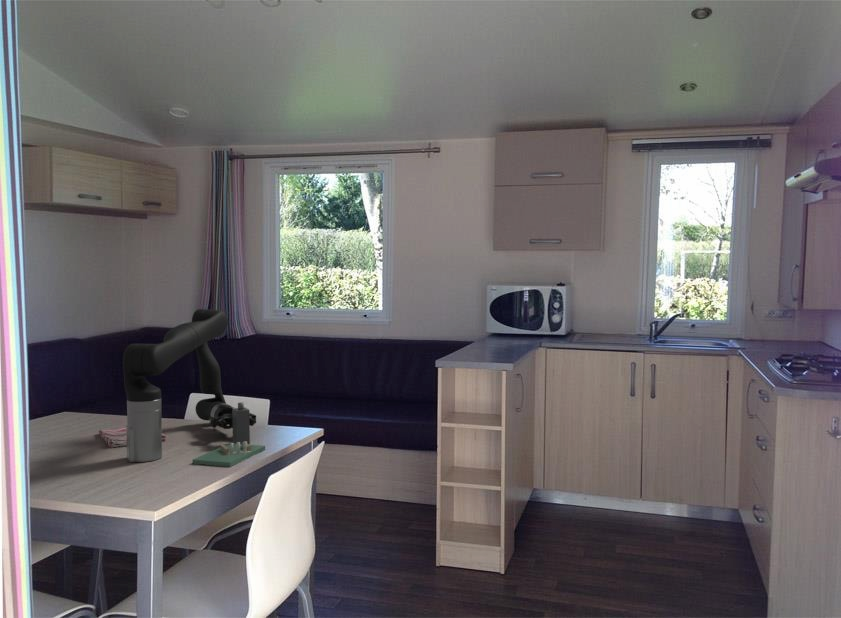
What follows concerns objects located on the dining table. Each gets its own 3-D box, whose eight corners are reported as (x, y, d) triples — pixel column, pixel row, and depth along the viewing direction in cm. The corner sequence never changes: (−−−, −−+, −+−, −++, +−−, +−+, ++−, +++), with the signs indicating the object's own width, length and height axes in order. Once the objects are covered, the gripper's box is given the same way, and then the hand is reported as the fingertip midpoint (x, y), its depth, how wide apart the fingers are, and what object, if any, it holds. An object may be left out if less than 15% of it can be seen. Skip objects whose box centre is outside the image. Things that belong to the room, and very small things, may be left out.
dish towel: (109, 450, 213) (109, 439, 212) (97, 435, 232) (97, 425, 232) (167, 443, 222) (167, 432, 222) (151, 429, 241) (151, 419, 241)
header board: (230, 466, 192) (230, 451, 192) (192, 463, 195) (192, 448, 195) (265, 449, 211) (265, 436, 211) (230, 447, 214) (229, 433, 214)
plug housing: (236, 446, 216) (236, 404, 215) (232, 443, 220) (232, 402, 219) (249, 444, 218) (249, 403, 217) (245, 441, 222) (244, 401, 221)
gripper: (203, 406, 230) (216, 414, 216) (245, 402, 237) (261, 410, 223) (203, 429, 230) (217, 438, 216) (245, 424, 237) (261, 433, 224)
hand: (239, 424), depth 220 cm, fingers open, 8 cm apart
